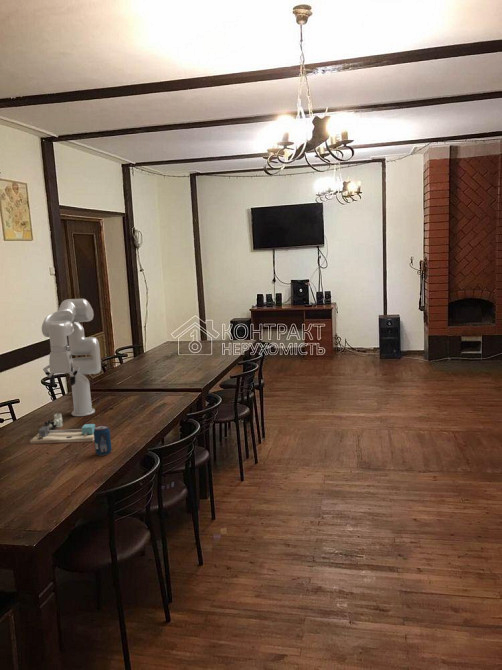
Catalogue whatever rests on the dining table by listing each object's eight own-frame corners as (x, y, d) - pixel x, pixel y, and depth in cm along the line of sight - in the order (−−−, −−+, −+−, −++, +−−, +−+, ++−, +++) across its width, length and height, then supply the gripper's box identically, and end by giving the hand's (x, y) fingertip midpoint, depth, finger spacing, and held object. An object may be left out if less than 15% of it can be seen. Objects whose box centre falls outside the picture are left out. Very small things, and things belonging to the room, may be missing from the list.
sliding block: (85, 431, 263) (84, 424, 263) (95, 430, 263) (95, 423, 263) (80, 436, 256) (79, 429, 255) (90, 436, 256) (89, 429, 255)
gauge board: (40, 435, 266) (39, 425, 266) (100, 432, 265) (99, 423, 265) (30, 443, 254) (28, 433, 254) (92, 441, 254) (91, 431, 253)
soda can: (105, 449, 242) (103, 423, 241) (115, 452, 238) (112, 426, 236) (92, 454, 237) (90, 428, 235) (101, 457, 233) (99, 430, 231)
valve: (54, 425, 282) (43, 433, 270) (53, 413, 281) (42, 420, 269) (66, 425, 281) (56, 432, 269) (65, 413, 280) (54, 420, 268)
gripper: (80, 347, 254) (83, 382, 256) (44, 348, 255) (48, 383, 257) (74, 349, 246) (78, 386, 249) (37, 351, 247) (41, 387, 250)
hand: (63, 384), depth 253 cm, fingers open, 9 cm apart
